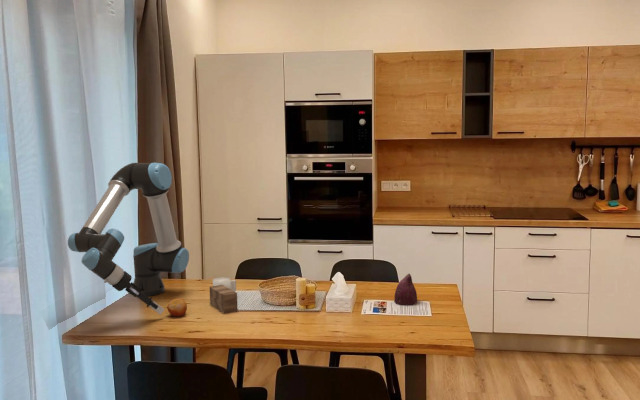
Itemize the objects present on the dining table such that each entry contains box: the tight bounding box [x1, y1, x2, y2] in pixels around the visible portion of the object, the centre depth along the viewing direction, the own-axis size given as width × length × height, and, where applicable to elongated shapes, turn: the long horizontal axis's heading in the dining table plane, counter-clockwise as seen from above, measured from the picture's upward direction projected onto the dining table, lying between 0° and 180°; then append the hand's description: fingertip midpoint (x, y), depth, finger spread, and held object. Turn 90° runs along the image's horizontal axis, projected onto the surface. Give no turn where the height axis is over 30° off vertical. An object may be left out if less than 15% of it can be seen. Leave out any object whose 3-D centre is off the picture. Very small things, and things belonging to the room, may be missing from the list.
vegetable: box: [393, 273, 418, 306], centre depth 256 cm, size 10×10×15 cm
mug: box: [212, 276, 237, 292], centre depth 269 cm, size 8×11×9 cm
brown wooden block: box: [209, 285, 239, 314], centre depth 254 cm, size 16×6×8 cm, turn 32°
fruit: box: [166, 297, 188, 318], centre depth 246 cm, size 8×8×8 cm
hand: (161, 311), depth 241 cm, fingers closed
